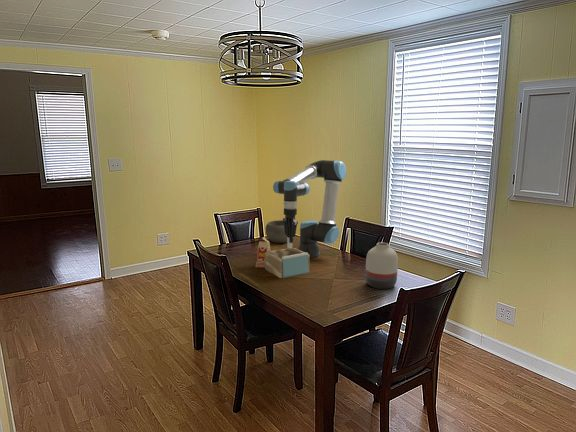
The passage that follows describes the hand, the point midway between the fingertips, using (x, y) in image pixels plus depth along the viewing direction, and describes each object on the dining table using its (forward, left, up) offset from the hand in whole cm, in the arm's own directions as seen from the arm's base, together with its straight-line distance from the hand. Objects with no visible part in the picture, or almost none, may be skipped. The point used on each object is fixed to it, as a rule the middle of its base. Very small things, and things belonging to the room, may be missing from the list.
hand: (289, 247), depth 249 cm
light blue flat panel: (0, +6, -15) cm, 16 cm away
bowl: (-32, -67, -17) cm, 76 cm away
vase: (-33, +41, -17) cm, 56 cm away
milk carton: (+7, -20, -17) cm, 27 cm away
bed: (0, -4, -16) cm, 17 cm away
